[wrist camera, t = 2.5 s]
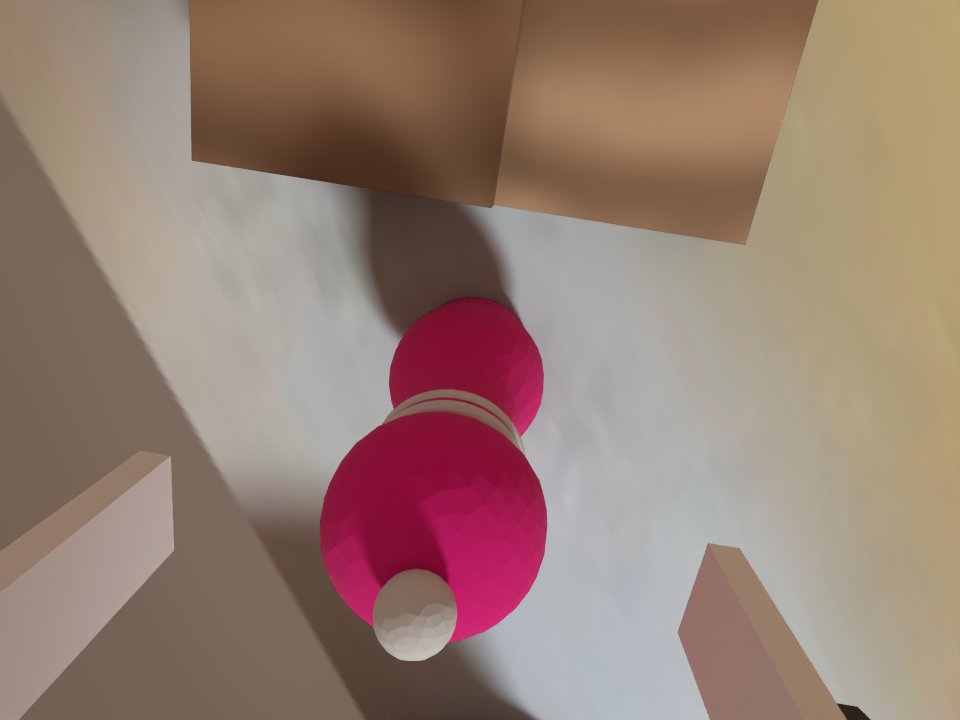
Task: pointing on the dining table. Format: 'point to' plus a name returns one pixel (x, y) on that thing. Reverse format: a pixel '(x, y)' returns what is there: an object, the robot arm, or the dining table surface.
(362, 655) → the dining table surface
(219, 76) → the step stand
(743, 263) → the dining table surface
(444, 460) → the pepper mill
